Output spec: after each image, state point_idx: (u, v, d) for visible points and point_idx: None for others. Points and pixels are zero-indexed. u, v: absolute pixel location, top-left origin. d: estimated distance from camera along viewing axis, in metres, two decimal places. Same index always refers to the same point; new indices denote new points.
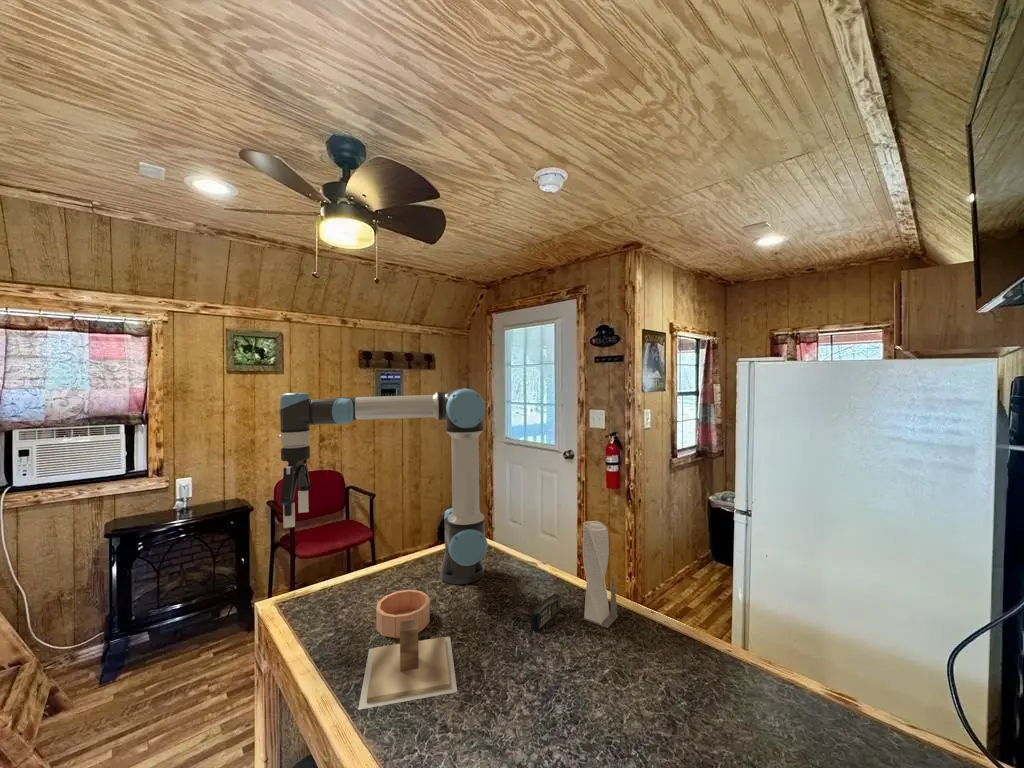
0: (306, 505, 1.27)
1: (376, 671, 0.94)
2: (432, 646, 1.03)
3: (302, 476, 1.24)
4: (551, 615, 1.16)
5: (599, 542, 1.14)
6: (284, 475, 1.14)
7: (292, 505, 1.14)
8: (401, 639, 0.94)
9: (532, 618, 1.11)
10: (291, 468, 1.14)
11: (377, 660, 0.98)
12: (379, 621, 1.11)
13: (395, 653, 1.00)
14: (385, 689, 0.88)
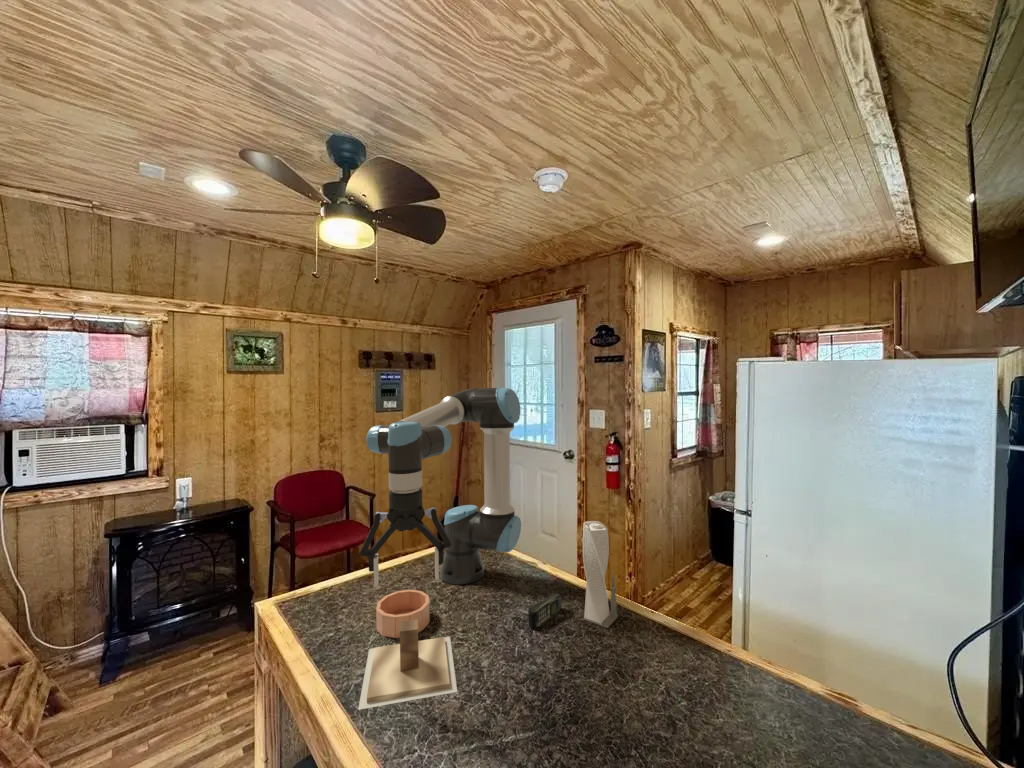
0: None
1: (376, 671, 0.94)
2: (432, 646, 1.03)
3: None
4: (550, 614, 1.17)
5: (599, 542, 1.14)
6: None
7: (373, 560, 0.94)
8: (401, 639, 0.94)
9: (529, 616, 1.12)
10: (375, 515, 0.94)
11: (377, 660, 0.98)
12: (379, 621, 1.11)
13: (395, 653, 1.00)
14: (385, 689, 0.88)
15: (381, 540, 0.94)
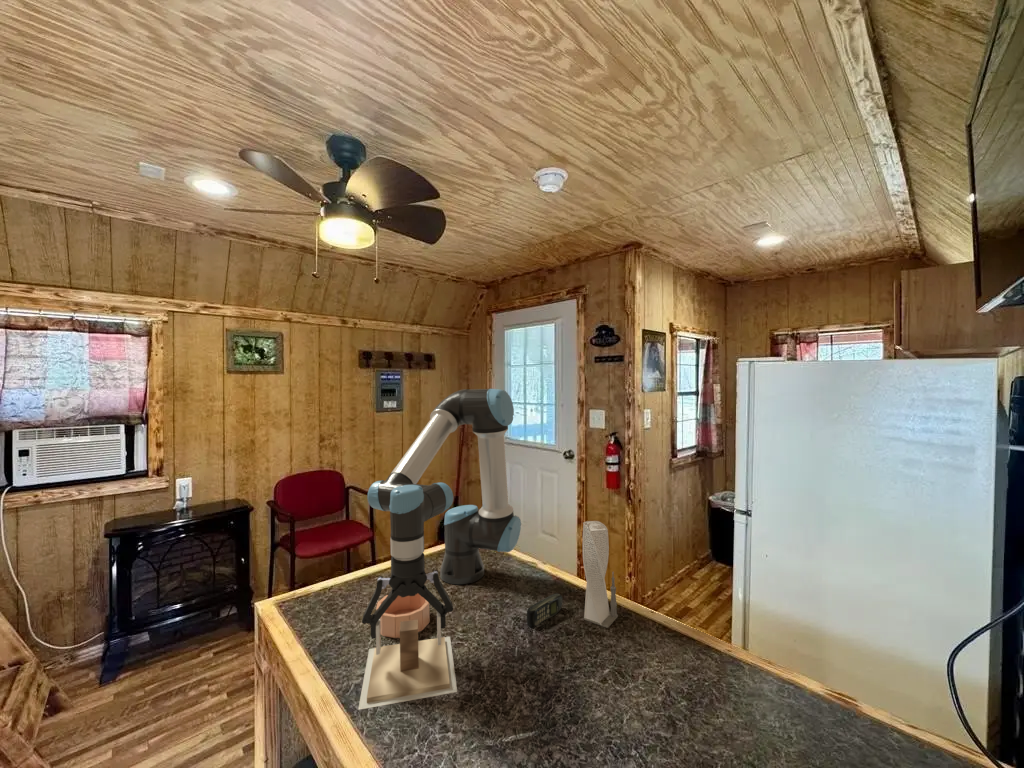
0: (437, 635, 0.97)
1: (376, 671, 0.94)
2: (432, 646, 1.03)
3: None
4: (550, 614, 1.17)
5: (599, 542, 1.14)
6: None
7: (375, 627, 0.94)
8: (401, 639, 0.94)
9: (528, 615, 1.13)
10: (377, 582, 0.94)
11: (377, 660, 0.98)
12: None
13: (395, 653, 1.00)
14: (385, 689, 0.88)
15: (383, 607, 0.94)
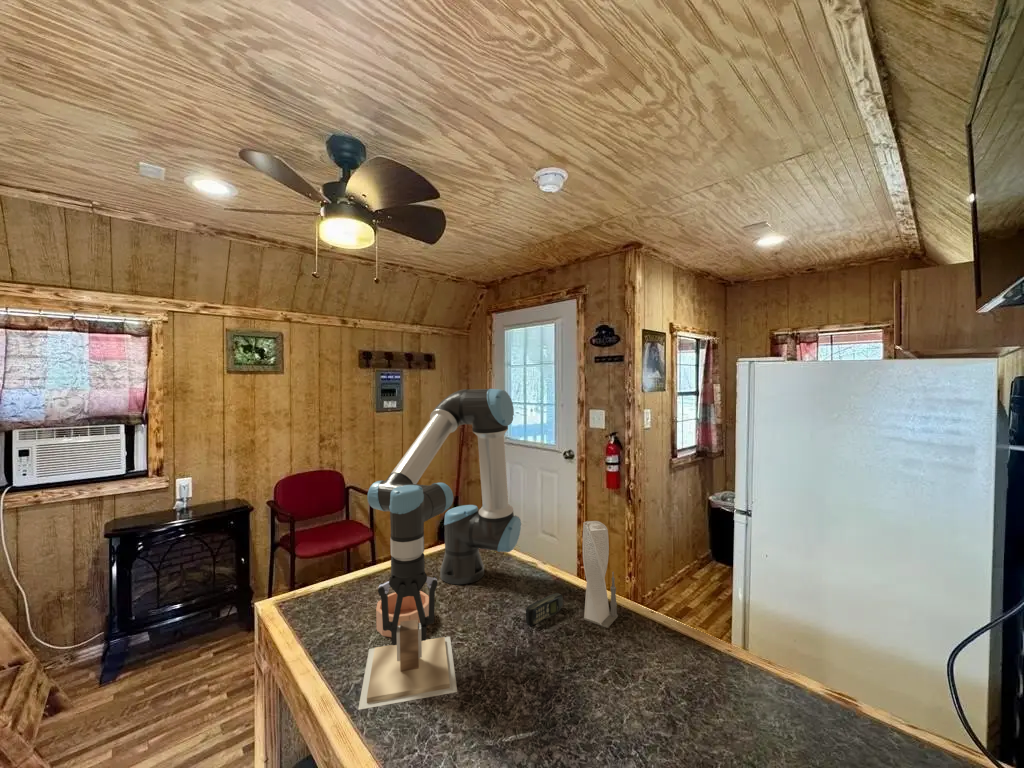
0: (418, 647, 0.96)
1: (376, 671, 0.94)
2: (432, 646, 1.03)
3: None
4: (549, 613, 1.18)
5: (599, 542, 1.14)
6: None
7: (396, 634, 0.95)
8: (401, 639, 0.94)
9: (526, 613, 1.14)
10: (378, 590, 0.94)
11: (377, 660, 0.98)
12: (379, 621, 1.11)
13: (395, 653, 1.00)
14: (385, 689, 0.88)
15: (395, 612, 0.94)
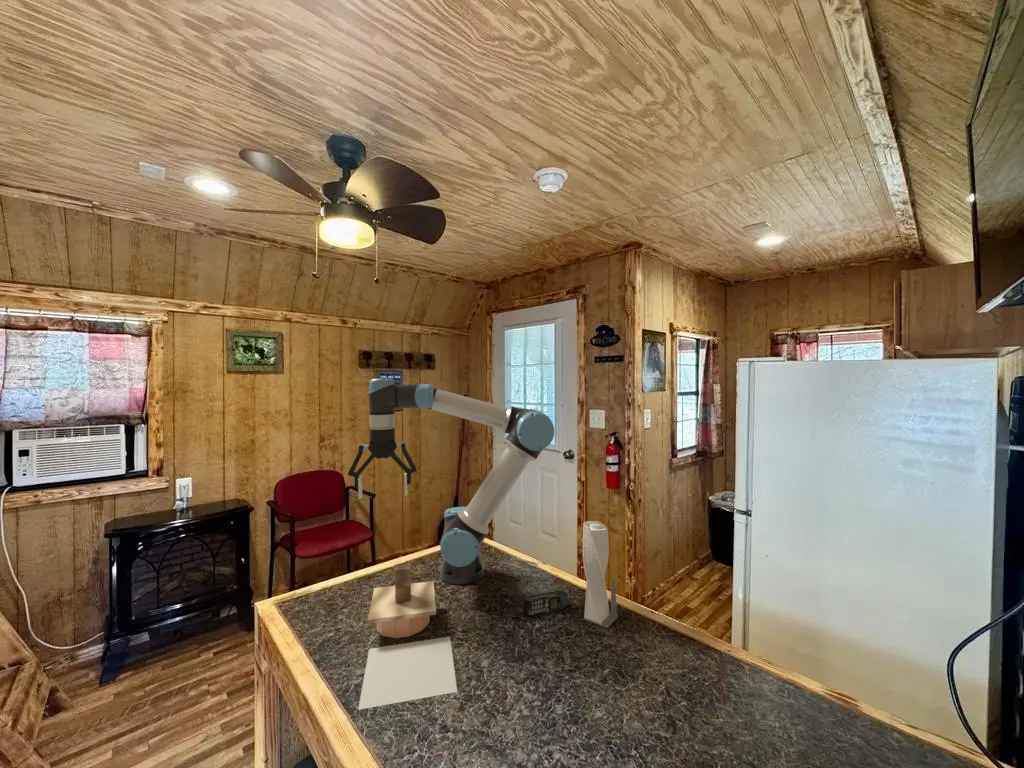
0: None
1: (375, 603, 1.13)
2: (422, 587, 1.22)
3: (393, 458, 1.29)
4: (549, 608, 1.20)
5: (599, 542, 1.14)
6: None
7: (358, 479, 1.27)
8: (396, 576, 1.13)
9: (523, 603, 1.19)
10: (359, 446, 1.27)
11: (376, 596, 1.17)
12: None
13: (391, 591, 1.19)
14: (383, 614, 1.07)
15: (364, 464, 1.27)
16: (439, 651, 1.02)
